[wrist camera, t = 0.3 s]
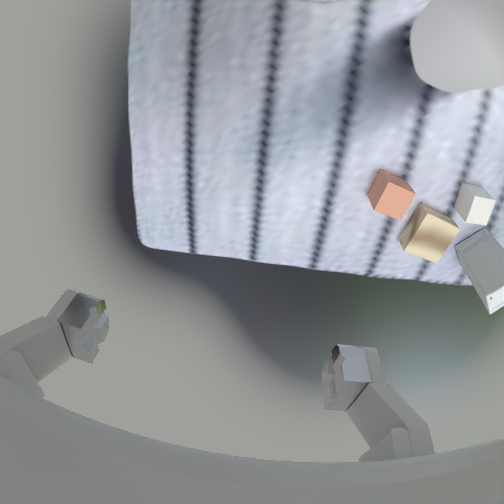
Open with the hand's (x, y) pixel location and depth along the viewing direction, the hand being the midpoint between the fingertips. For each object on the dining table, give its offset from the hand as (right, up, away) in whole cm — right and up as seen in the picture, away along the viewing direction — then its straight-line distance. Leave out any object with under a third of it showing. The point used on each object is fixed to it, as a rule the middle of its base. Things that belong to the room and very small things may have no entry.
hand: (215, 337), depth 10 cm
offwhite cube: (+39, +13, +34) cm, 53 cm away
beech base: (+32, +7, +39) cm, 51 cm away
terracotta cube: (+23, +13, +35) cm, 44 cm away
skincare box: (+45, +4, +39) cm, 60 cm away
